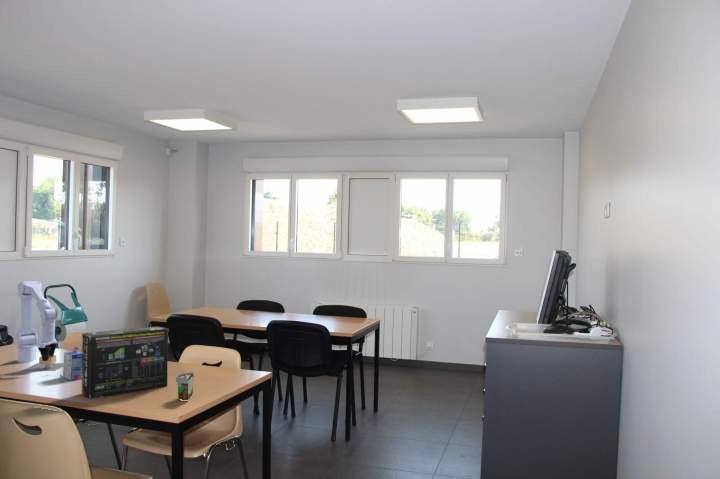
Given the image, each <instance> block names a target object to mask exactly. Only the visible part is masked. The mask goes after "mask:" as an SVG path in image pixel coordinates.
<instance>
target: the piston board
mask: <svg viewBox="0 0 720 479" xmlns="http://www.w3.org/2000/svg"><path fill="white" fill-rule="evenodd" d="M63 364H64V362H61V363H60V362H59V363H58V362H55V363H53V364H39V362H37V363H35V364H32V365H30V366H28V367H26V368H24V369H21V372H55V371H57V370H60V369H63Z"/></svg>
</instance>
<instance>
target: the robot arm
mask: <svg viewBox="0 0 720 479" xmlns="http://www.w3.org/2000/svg"><path fill="white" fill-rule="evenodd" d="M42 289H43V285H42V282H41V281H40V280H33V281H31V280H29V281H27V280H26V281H25V280H24V281H22V280H21V281H19V283H18V284H17V297H18V298H20V328H19V329H18V330H17V331H16V332H15V333H14V338H13V339H14V340H13V343H14V345H15V347H16V348H17V363H20V364H27V363H32V362H34V361H35V360H36V359H37V349H38V351H39V353H40V355H41V356H42V360H43V361H47V360H48V356H49V355H55V352H56V349H57V347H58V341H57V339H56V336H55V335H56V320H57V319H58V315H59V312H58V310H57V308H55V307H53V306H52V305H51V303H50V301H49V300H48V299H47V298H45V297H44V295H43V293H42V292H43V291H42ZM33 298H34V299H35V301H36V303H35V305H36V308H37V309H38V311H39V318H40V323H41V341H40V343H39V346H38V347H37V348H36V345H37V344H38V342H39V338H38V337H39V336H38V332H37V330H36V329H35V328H33V327H32V326H33V321H32V320H33V317H32V309H33V308H32V300H33ZM41 356H40V357H41Z"/></svg>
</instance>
